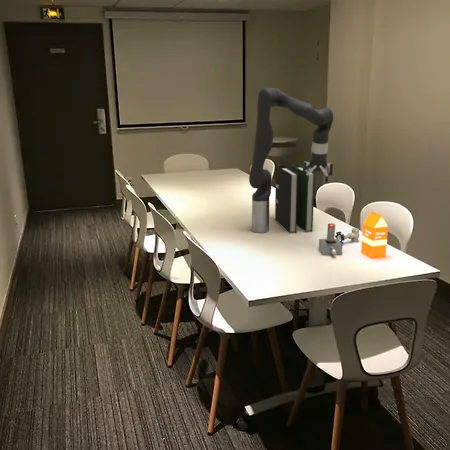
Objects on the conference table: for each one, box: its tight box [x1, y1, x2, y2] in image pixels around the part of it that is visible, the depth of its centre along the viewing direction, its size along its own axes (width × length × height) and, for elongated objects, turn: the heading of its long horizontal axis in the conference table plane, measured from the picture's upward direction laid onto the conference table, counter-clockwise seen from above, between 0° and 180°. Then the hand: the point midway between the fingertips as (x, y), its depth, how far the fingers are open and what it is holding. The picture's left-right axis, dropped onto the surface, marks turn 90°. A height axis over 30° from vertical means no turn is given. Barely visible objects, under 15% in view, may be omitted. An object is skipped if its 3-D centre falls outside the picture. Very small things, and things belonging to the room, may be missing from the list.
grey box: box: [318, 238, 343, 256], centre depth 228 cm, size 9×13×5 cm
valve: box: [334, 227, 360, 245], centre depth 243 cm, size 7×7×12 cm
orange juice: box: [360, 210, 389, 259], centre depth 224 cm, size 8×9×20 cm
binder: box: [274, 164, 316, 234], centre depth 268 cm, size 27×15×32 cm, turn 9°
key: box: [326, 222, 336, 243], centre depth 229 cm, size 3×3×13 cm
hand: (316, 182), depth 239 cm, fingers open, 8 cm apart
